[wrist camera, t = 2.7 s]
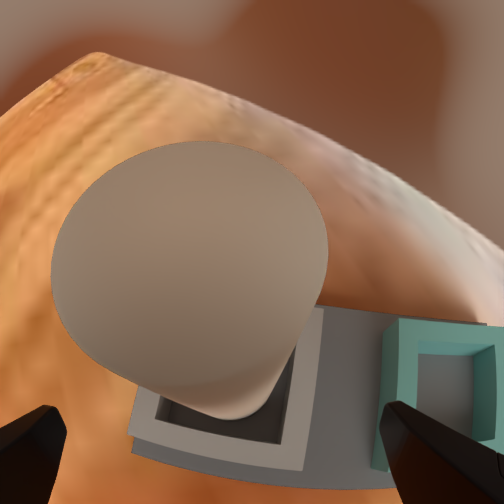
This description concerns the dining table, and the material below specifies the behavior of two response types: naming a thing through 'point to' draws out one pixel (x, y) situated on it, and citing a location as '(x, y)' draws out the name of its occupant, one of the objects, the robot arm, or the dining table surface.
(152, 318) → the peg
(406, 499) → the robot arm
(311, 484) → the socket board
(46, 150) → the dining table surface
